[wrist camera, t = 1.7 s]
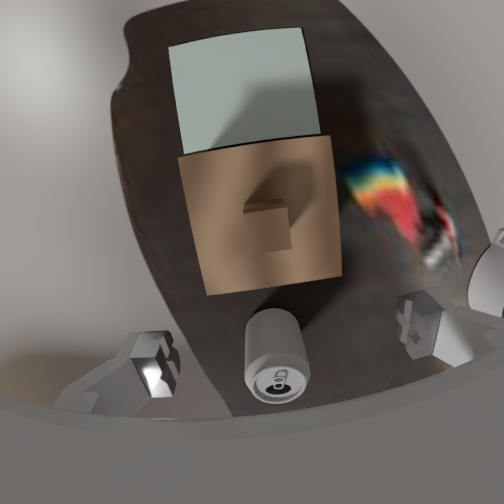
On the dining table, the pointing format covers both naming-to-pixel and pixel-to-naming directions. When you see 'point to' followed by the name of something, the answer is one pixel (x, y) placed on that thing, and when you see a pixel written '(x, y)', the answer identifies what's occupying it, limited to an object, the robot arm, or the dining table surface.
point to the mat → (243, 88)
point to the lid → (264, 214)
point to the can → (275, 357)
